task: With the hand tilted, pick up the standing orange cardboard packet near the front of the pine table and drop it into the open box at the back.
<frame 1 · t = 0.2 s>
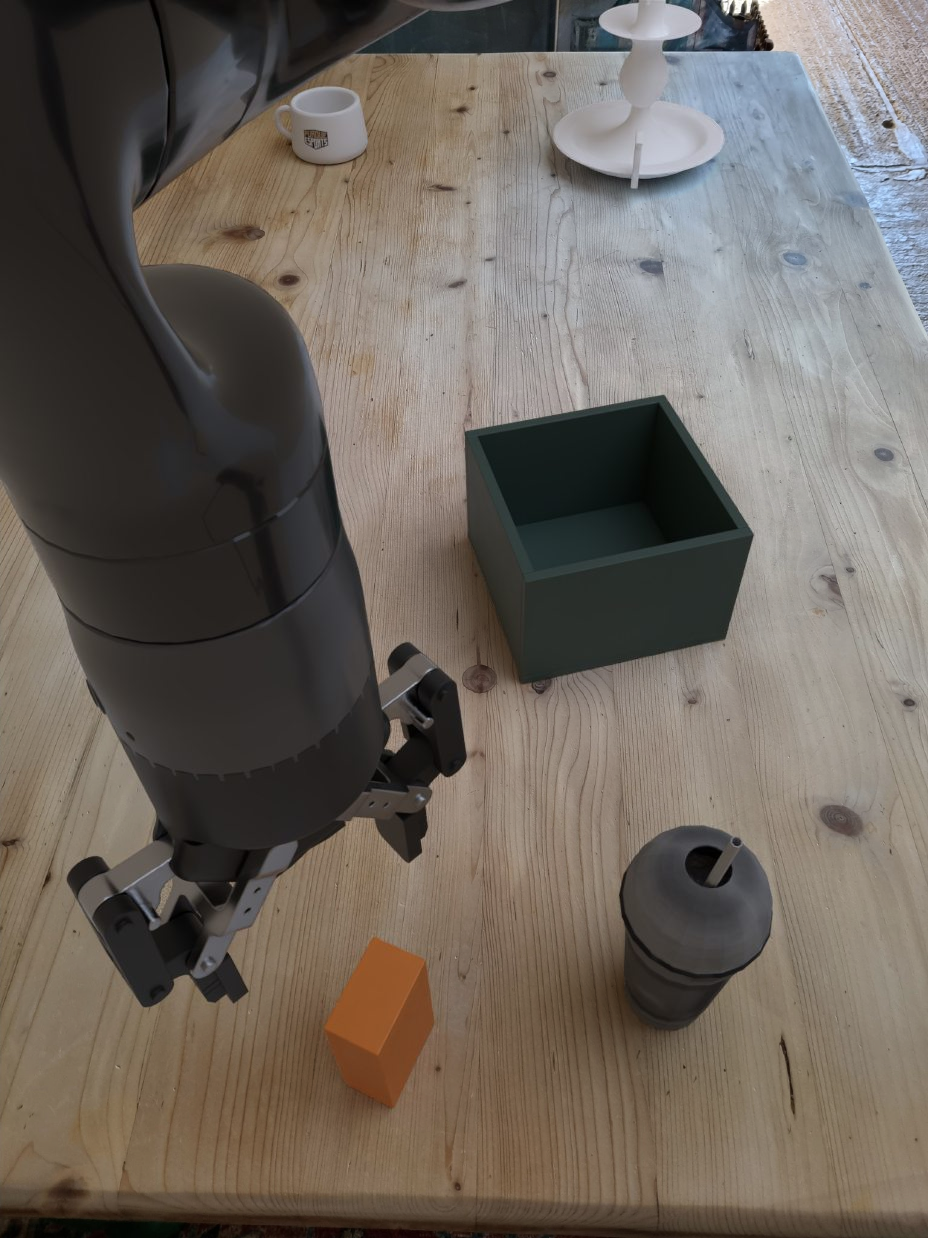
hand: (318, 909, 40), 19 cm above the table, tool pointing down, fingers open, 8 cm apart
packet: (390, 1052, 54), on the table
beverage cup: (663, 991, 56), on the table
mug: (322, 149, 127), on the table
open box: (590, 585, 77), on the table
candlestick: (634, 169, 121), on the table
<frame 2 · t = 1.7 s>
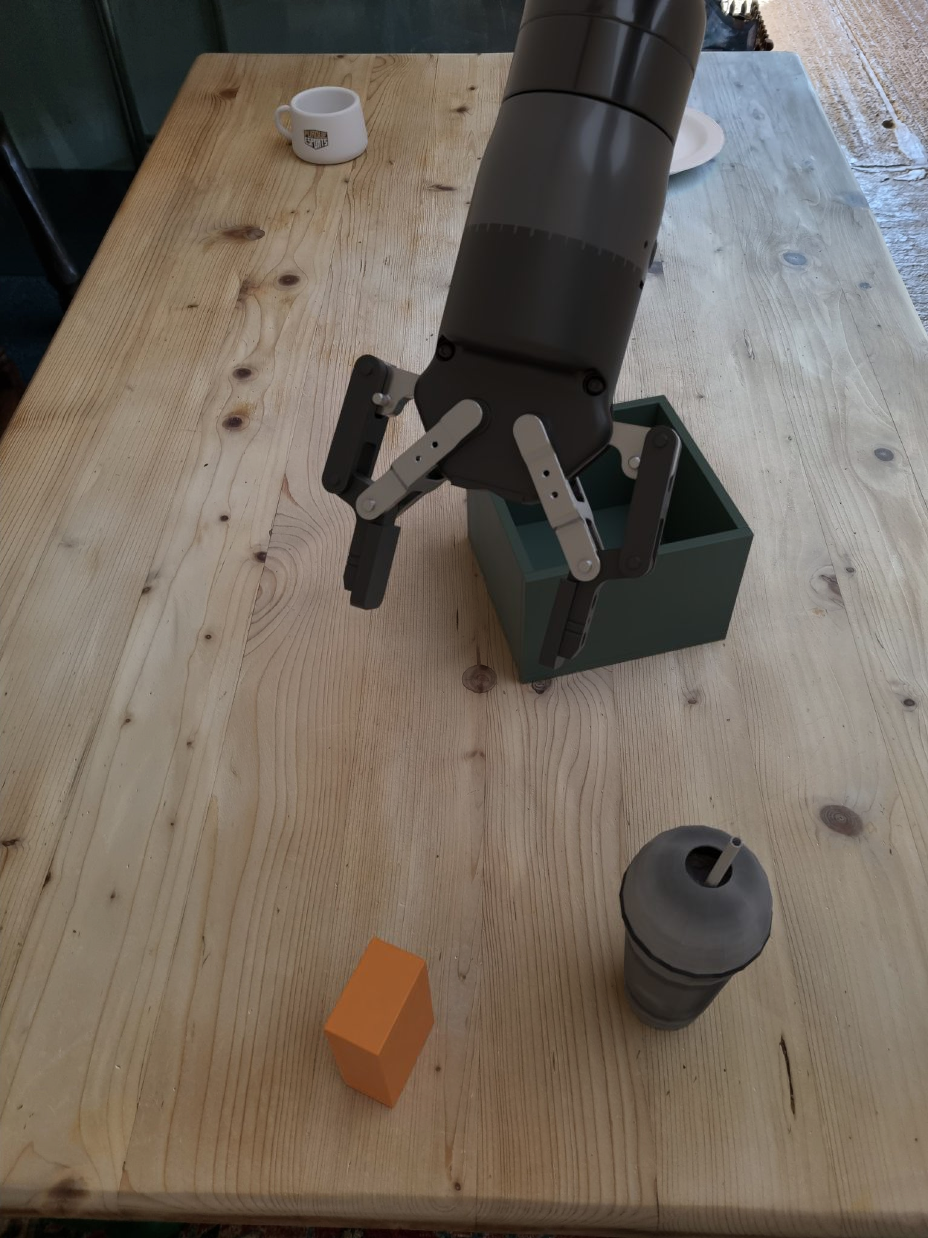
hand: (455, 635, 42), 24 cm above the table, tool tilted 45°, fingers open, 8 cm apart
nothing on the table moved.
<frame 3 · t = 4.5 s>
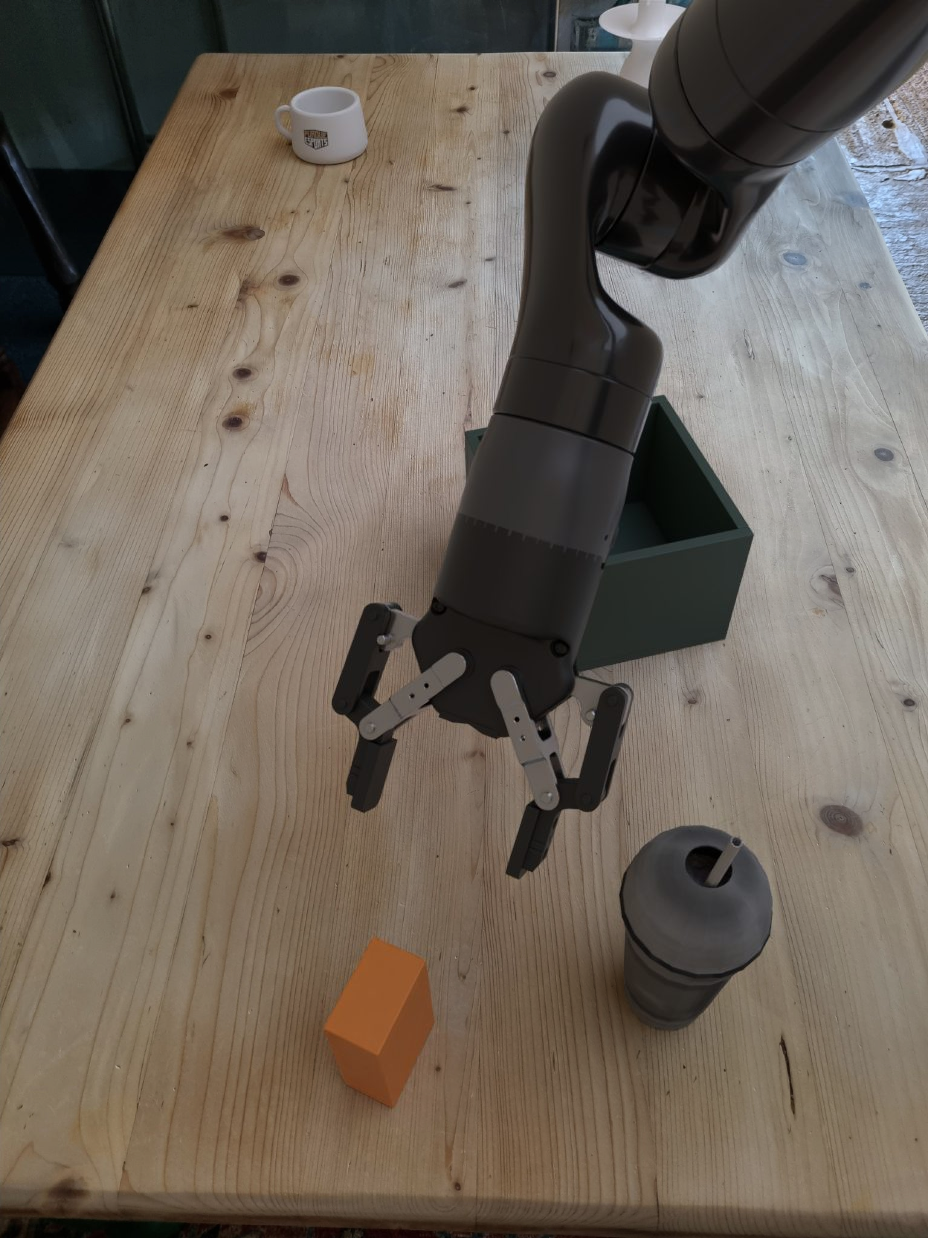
hand: (438, 840, 49), 12 cm above the table, tool tilted 45°, fingers open, 8 cm apart
nothing on the table moved.
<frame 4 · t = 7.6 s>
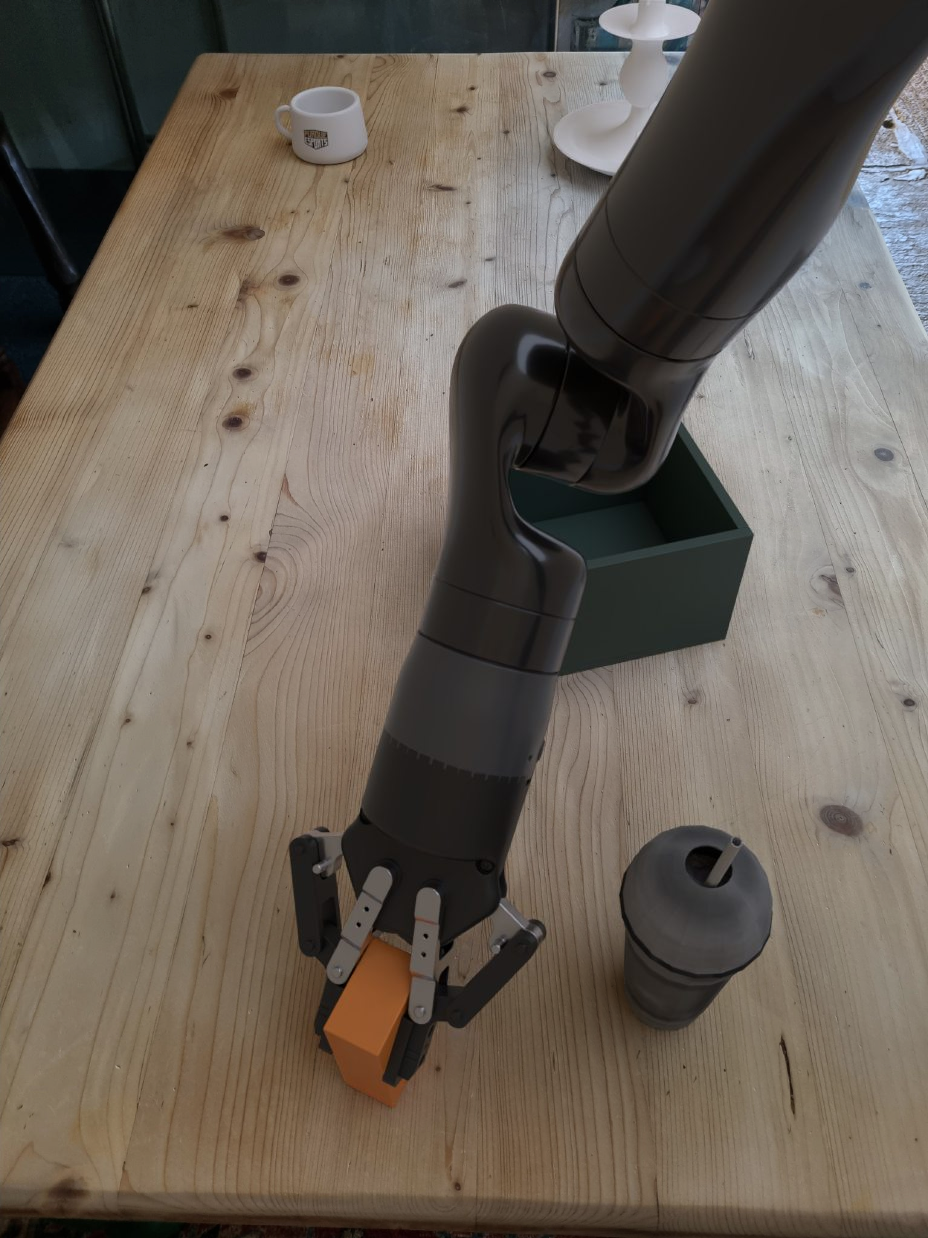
hand: (364, 1060, 50), 5 cm above the table, tool tilted 45°, fingers closed on packet, 3 cm apart
packet: (391, 1052, 54), on the table, touching gripper
everything else where it was.
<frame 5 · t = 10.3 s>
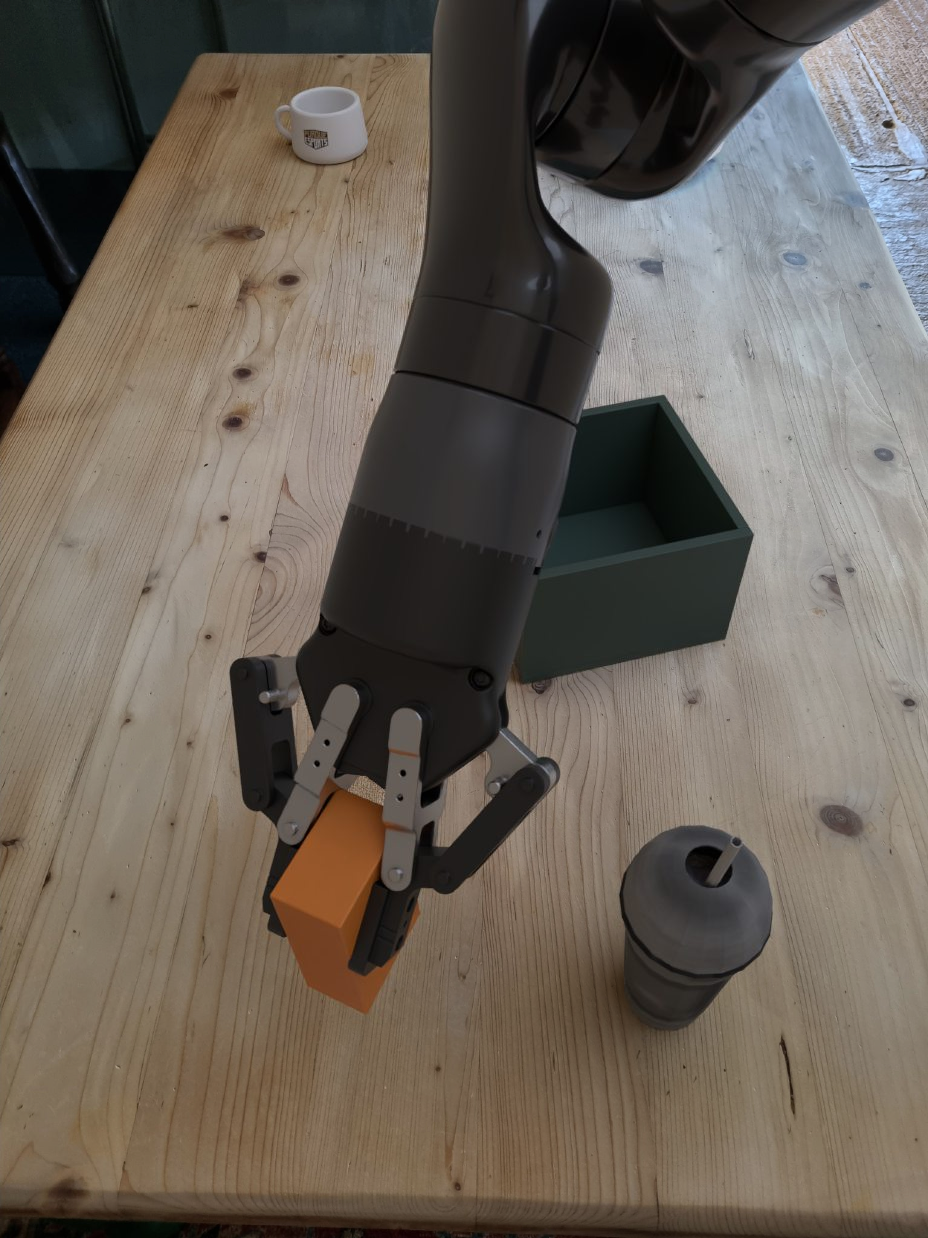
hand: (326, 945, 39), 19 cm above the table, tool tilted 45°, fingers closed on packet, 3 cm apart
packet: (364, 949, 44), point 14 cm above the table, touching gripper
everything else where it was.
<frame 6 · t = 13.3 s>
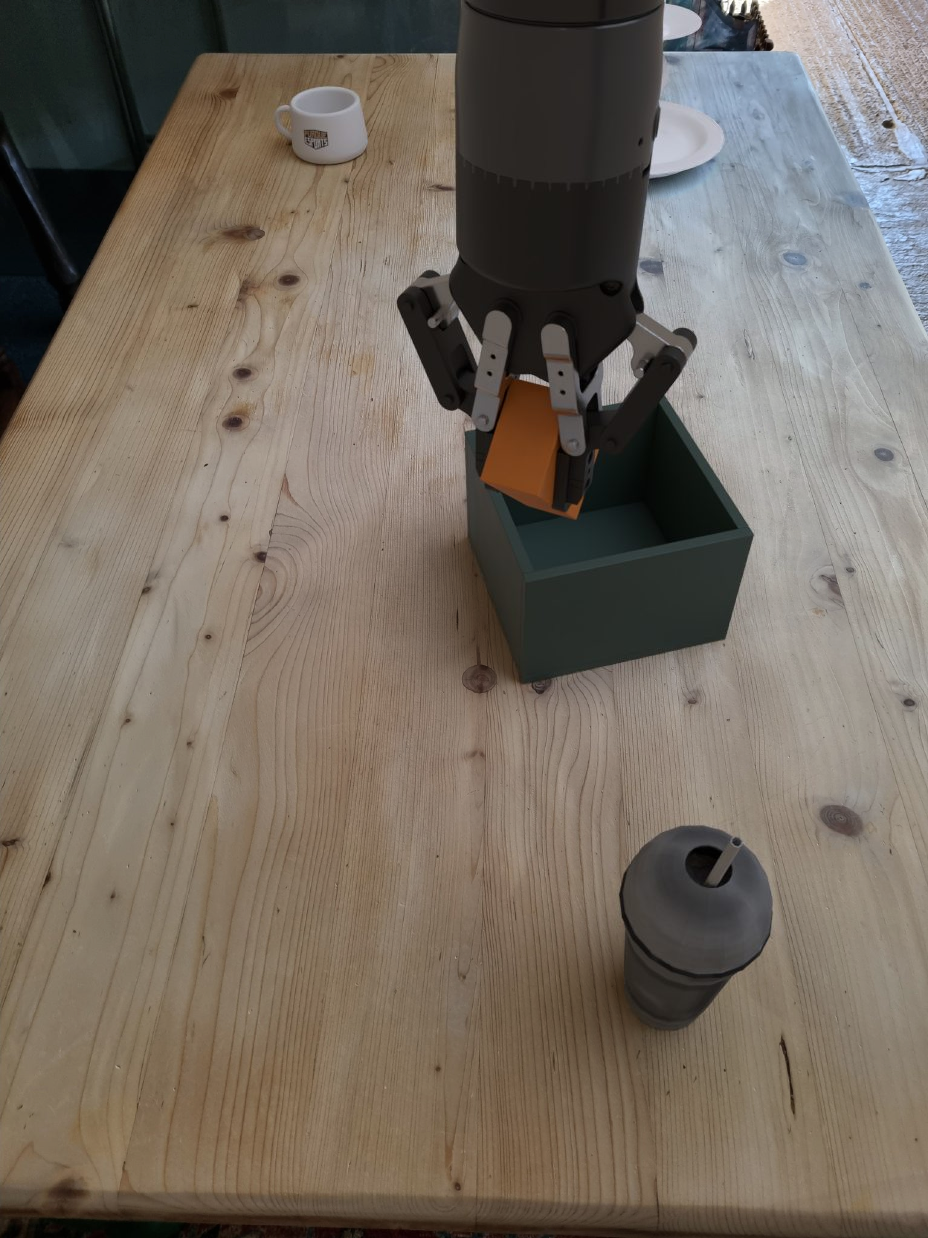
hand: (532, 490, 50), 23 cm above the table, tool pointing down, fingers closed on packet, 3 cm apart
packet: (564, 469, 54), point 21 cm above the table, tilted 42°, touching gripper
everything else where it was.
when the fingers open (16 cm above the table, at t = 18.0 s): packet drops 11 cm and tips over, resting on open box.
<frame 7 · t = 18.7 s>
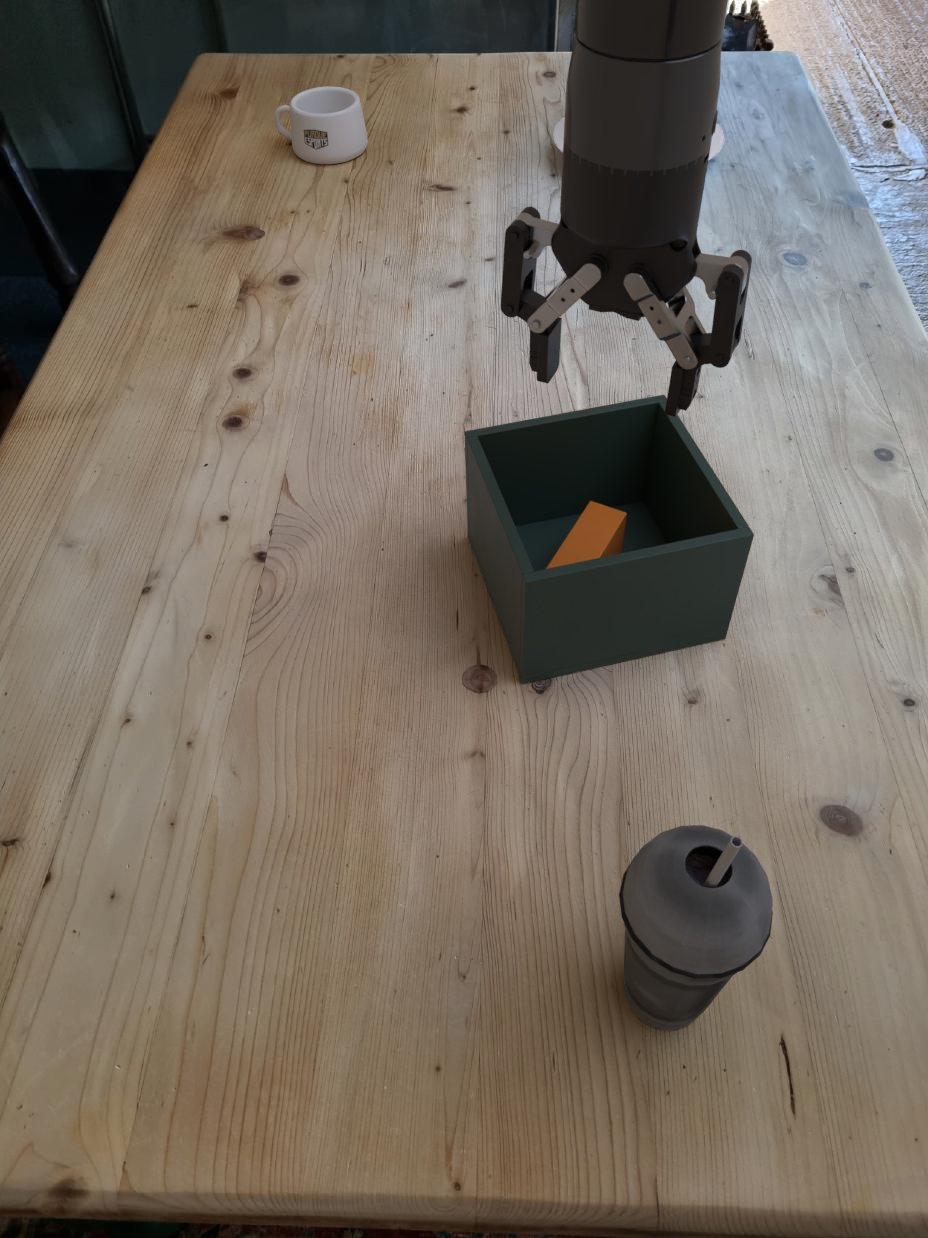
hand: (610, 391, 63), 18 cm above the table, tool pointing down, fingers open, 8 cm apart
packet: (605, 530, 76), point 3 cm above the table, tilted 90°, touching open box
everything else where it was.
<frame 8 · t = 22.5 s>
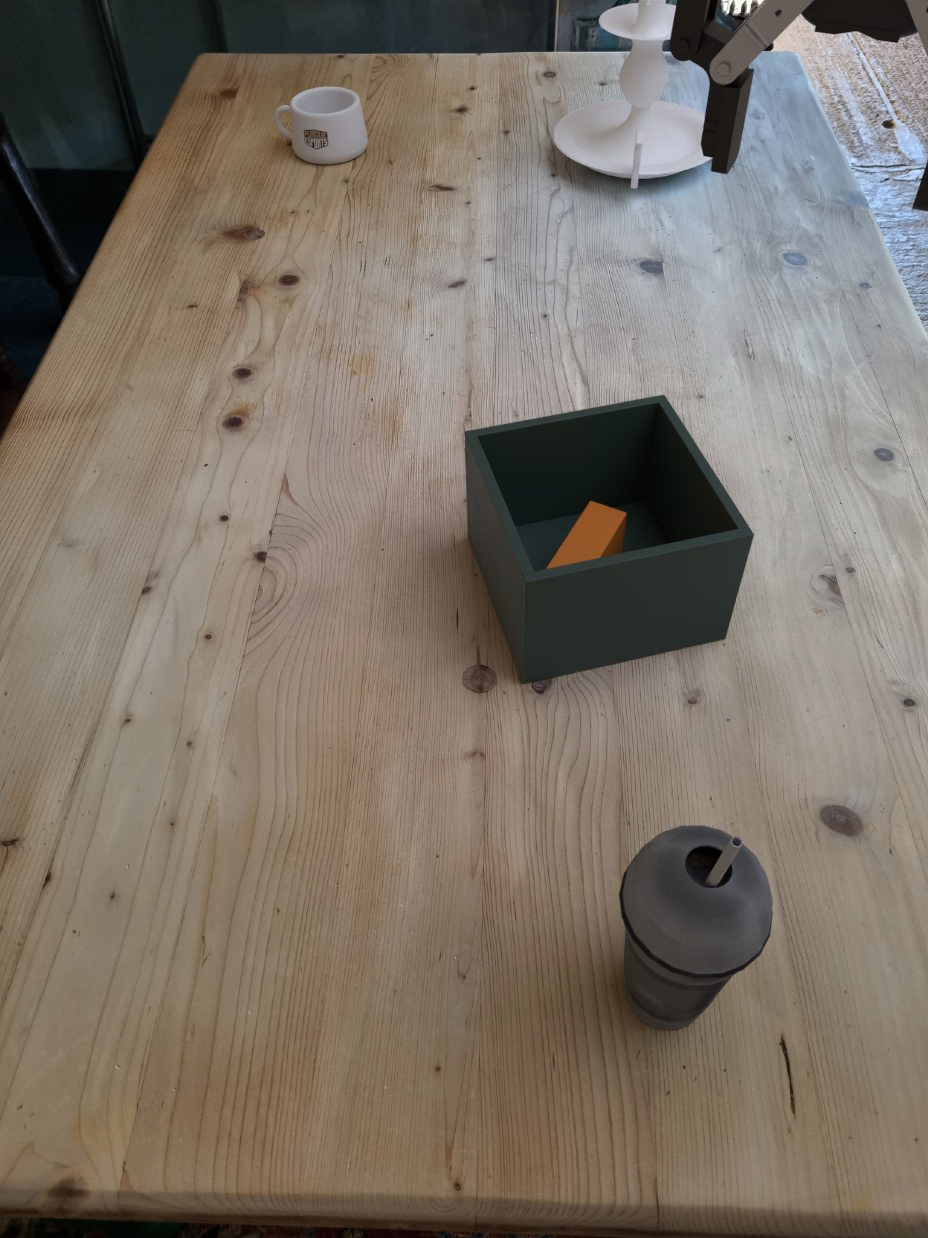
hand: (821, 183, 43), 36 cm above the table, tool pointing down, fingers open, 8 cm apart
nothing on the table moved.
at the end: packet inside the target area in the open box (2.9 cm from its centre), point 3.3 cm above the open box's base; the gripper is holding nothing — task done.
